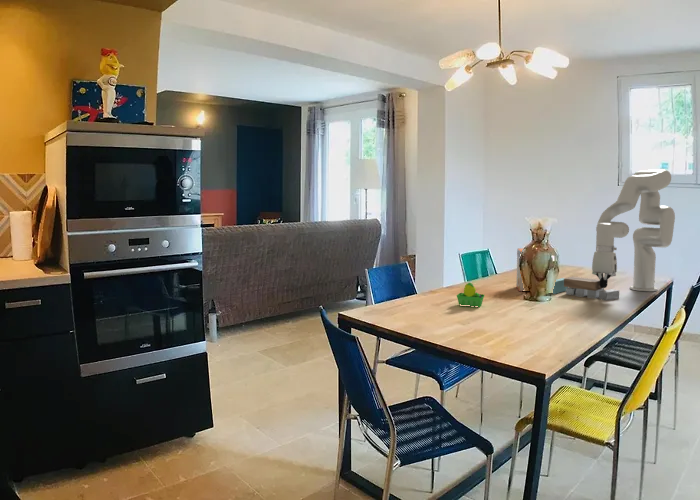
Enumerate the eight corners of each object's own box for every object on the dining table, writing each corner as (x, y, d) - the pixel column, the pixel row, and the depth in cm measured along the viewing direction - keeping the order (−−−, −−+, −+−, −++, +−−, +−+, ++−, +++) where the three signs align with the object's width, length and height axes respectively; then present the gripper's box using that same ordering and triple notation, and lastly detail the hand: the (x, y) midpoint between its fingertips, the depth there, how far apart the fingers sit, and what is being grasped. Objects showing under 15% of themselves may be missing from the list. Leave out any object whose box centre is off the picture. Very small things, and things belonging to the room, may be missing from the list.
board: (572, 284, 274) (572, 276, 273) (602, 288, 263) (603, 279, 262) (563, 286, 268) (564, 278, 268) (594, 290, 257) (594, 282, 256)
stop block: (562, 289, 281) (562, 277, 280) (567, 290, 279) (568, 278, 278) (548, 293, 272) (548, 281, 271) (554, 294, 269) (554, 282, 269)
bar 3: (595, 295, 266) (595, 287, 265) (603, 296, 263) (603, 288, 262) (587, 298, 260) (587, 289, 259) (595, 299, 257) (595, 290, 257)
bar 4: (611, 297, 260) (611, 289, 260) (619, 298, 257) (619, 290, 256) (598, 299, 256) (599, 291, 256) (606, 300, 253) (606, 292, 252)
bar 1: (572, 292, 274) (573, 285, 274) (580, 293, 271) (581, 286, 271) (565, 294, 268) (566, 288, 268) (574, 295, 265) (574, 289, 265)
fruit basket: (484, 305, 247) (485, 280, 246) (480, 309, 239) (481, 284, 238) (460, 303, 252) (460, 279, 251) (455, 307, 244) (455, 282, 243)
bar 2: (581, 293, 270) (581, 285, 270) (590, 294, 268) (590, 286, 267) (575, 296, 264) (575, 288, 263) (584, 297, 261) (584, 289, 261)
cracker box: (531, 292, 276) (532, 251, 273) (518, 291, 277) (519, 251, 274) (527, 287, 289) (528, 248, 287) (516, 286, 290) (516, 247, 288)
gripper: (624, 249, 253) (623, 288, 255) (592, 247, 264) (591, 284, 266) (617, 251, 248) (616, 290, 250) (585, 248, 259) (584, 286, 261)
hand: (603, 287), depth 258 cm, fingers closed
